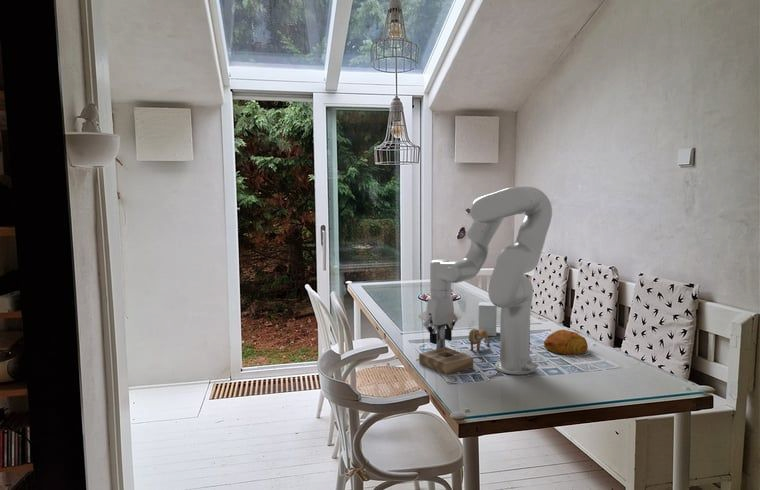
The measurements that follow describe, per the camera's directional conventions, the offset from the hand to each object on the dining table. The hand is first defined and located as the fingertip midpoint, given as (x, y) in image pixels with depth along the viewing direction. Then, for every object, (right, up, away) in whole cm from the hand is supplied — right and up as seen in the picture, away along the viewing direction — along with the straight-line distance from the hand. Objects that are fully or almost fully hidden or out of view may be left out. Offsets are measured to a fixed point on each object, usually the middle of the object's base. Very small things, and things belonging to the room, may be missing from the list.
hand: (440, 341), depth 189 cm
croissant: (+46, -4, +2) cm, 46 cm away
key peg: (0, -4, 0) cm, 4 cm away
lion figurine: (+15, -4, +4) cm, 16 cm away
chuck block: (0, -6, -14) cm, 15 cm away
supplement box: (+22, -2, +25) cm, 33 cm away
